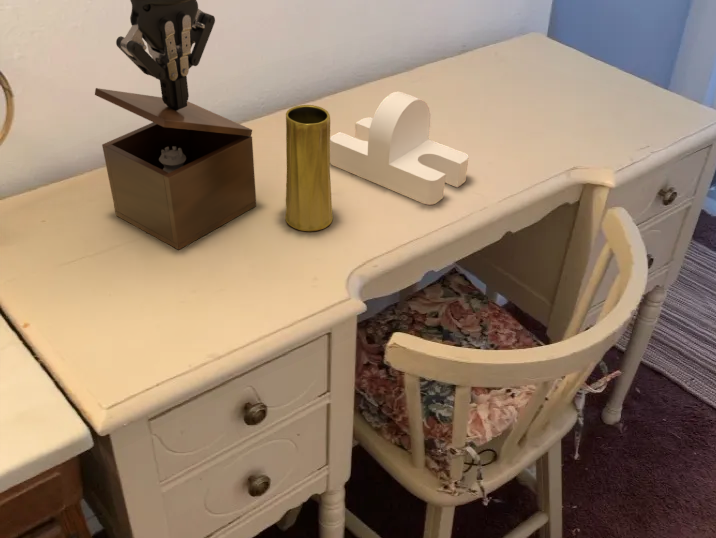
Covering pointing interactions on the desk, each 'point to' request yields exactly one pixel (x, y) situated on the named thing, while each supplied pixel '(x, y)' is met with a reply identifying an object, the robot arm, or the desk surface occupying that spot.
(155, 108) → the lid
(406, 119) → the u-slot stand
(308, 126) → the vase
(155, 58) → the robot arm
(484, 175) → the desk surface
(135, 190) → the chest
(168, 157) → the rook chess piece
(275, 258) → the desk surface
